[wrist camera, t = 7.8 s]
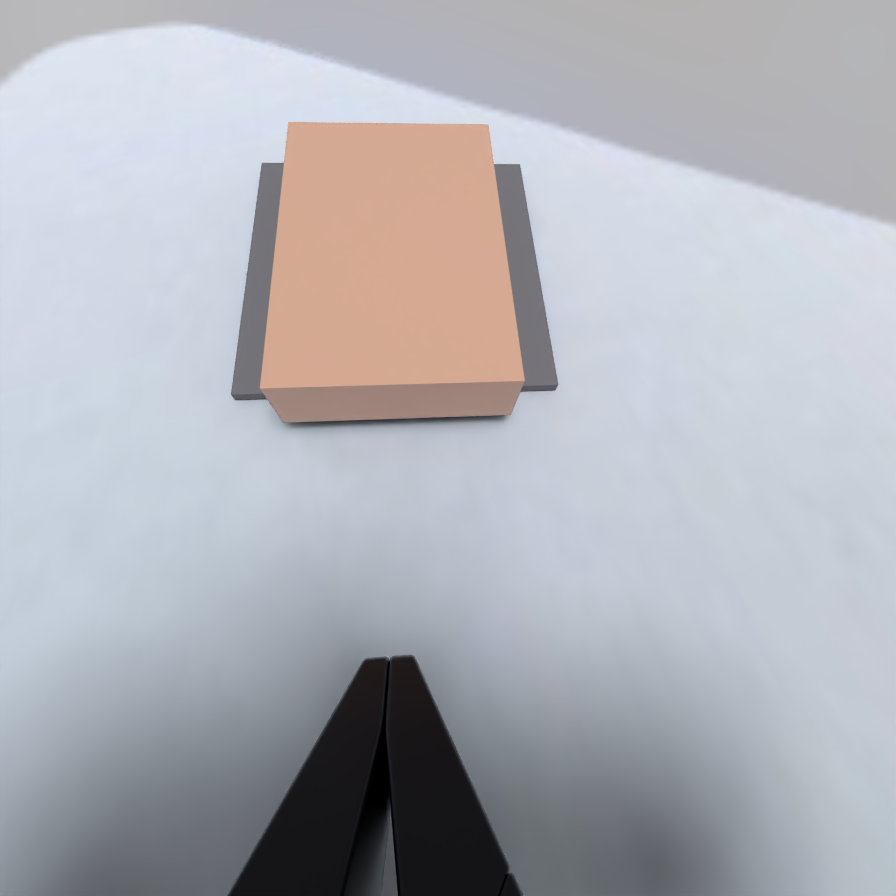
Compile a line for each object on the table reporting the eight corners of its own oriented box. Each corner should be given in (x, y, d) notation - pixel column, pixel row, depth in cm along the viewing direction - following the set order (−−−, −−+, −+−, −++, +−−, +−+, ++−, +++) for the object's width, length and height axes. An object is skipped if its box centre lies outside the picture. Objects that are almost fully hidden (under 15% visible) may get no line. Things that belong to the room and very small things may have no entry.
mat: (555, 390, 17) (558, 384, 17) (235, 399, 16) (230, 394, 16) (518, 172, 21) (519, 164, 21) (264, 171, 21) (261, 162, 20)
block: (524, 381, 14) (488, 124, 18) (259, 388, 13) (288, 122, 18) (509, 417, 16) (480, 183, 20) (285, 424, 16) (304, 182, 20)
